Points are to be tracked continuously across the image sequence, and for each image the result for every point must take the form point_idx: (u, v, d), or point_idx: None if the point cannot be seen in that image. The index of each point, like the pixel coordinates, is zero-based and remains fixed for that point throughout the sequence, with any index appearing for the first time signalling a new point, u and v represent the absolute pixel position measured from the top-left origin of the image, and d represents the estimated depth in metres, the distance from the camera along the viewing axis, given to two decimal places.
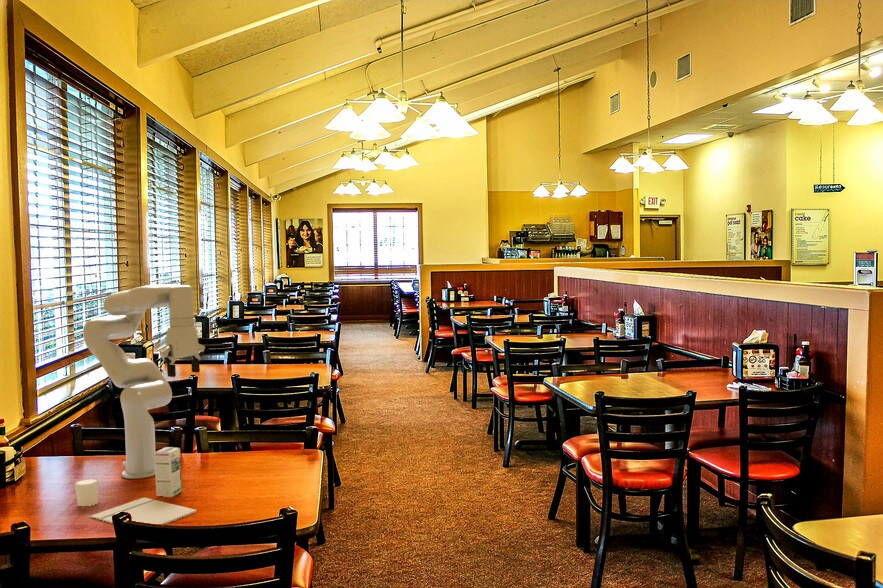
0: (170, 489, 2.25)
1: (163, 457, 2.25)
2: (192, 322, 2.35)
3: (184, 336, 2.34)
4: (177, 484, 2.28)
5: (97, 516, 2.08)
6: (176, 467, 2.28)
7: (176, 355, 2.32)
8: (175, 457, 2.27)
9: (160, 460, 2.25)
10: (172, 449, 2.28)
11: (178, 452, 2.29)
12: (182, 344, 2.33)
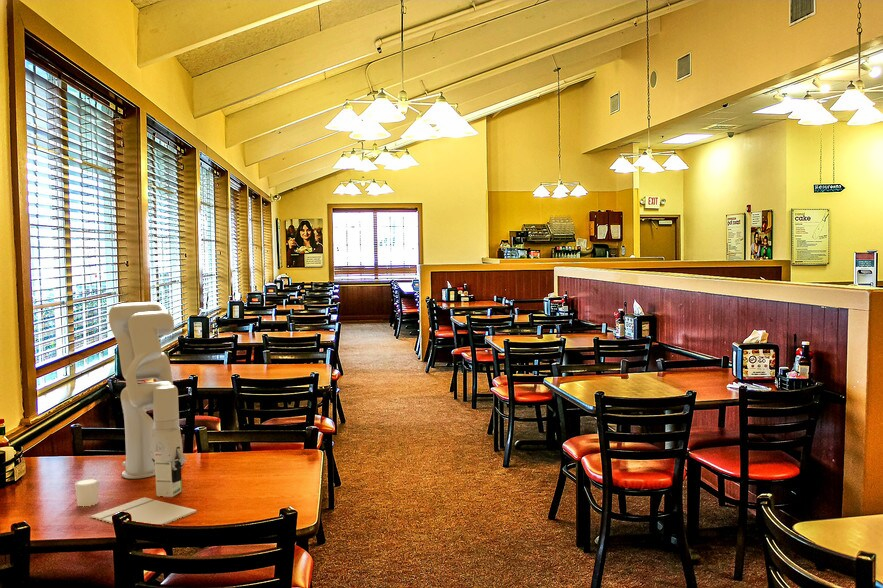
0: (170, 489, 2.25)
1: None
2: None
3: None
4: (177, 484, 2.28)
5: (97, 516, 2.08)
6: None
7: None
8: None
9: (160, 460, 2.25)
10: None
11: None
12: None
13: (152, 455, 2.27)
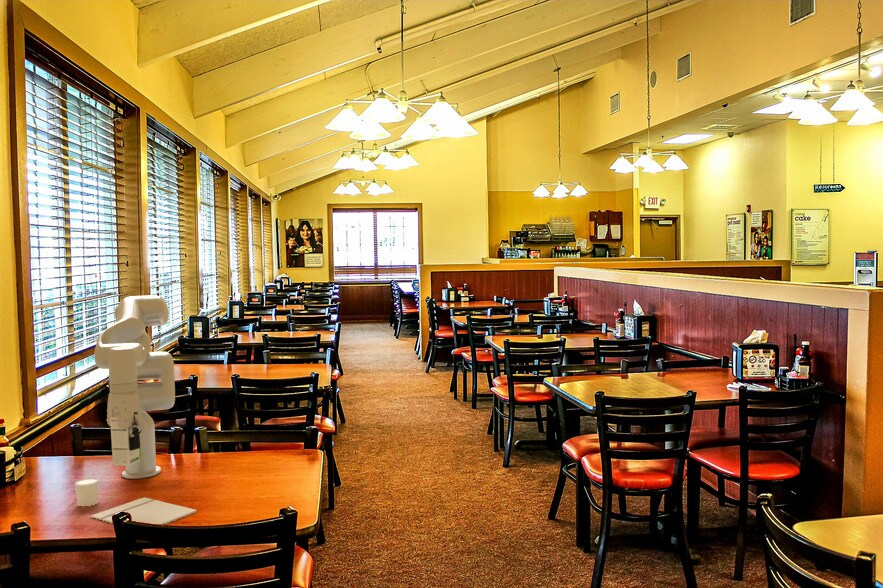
0: (127, 458, 2.10)
1: None
2: None
3: None
4: (135, 452, 2.12)
5: (97, 516, 2.08)
6: None
7: None
8: None
9: (117, 426, 2.10)
10: None
11: None
12: None
13: (108, 421, 2.12)
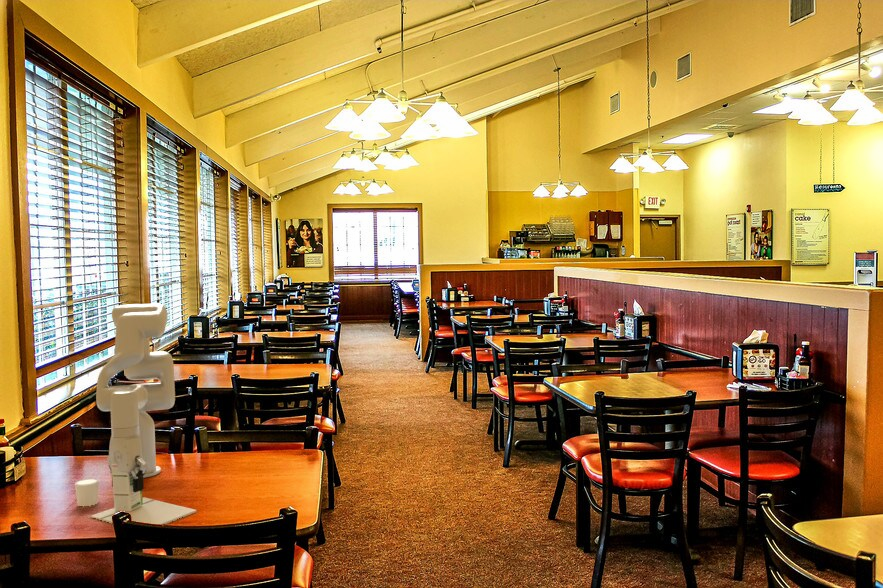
0: (128, 503, 2.11)
1: None
2: None
3: None
4: (137, 497, 2.13)
5: (97, 516, 2.08)
6: None
7: None
8: None
9: (118, 472, 2.11)
10: None
11: None
12: None
13: (110, 464, 2.12)
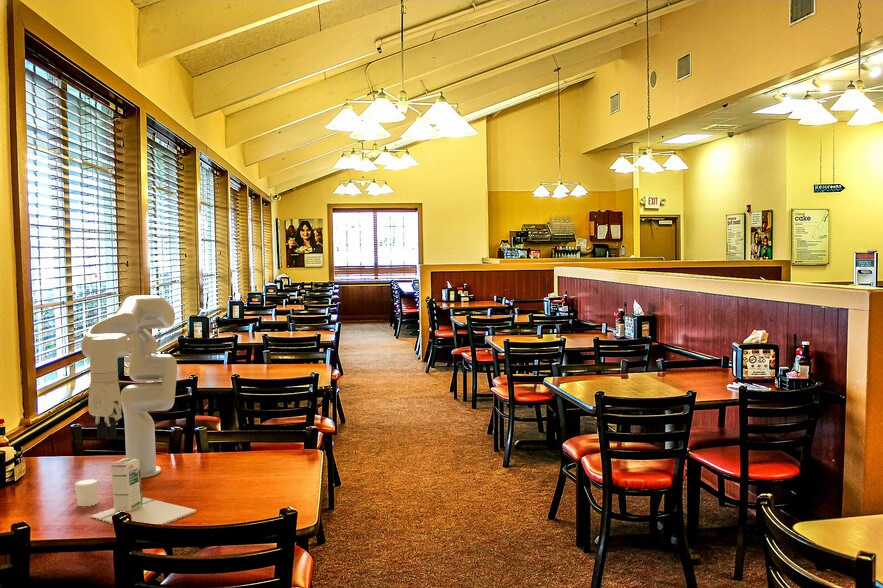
0: (128, 503, 2.11)
1: (120, 469, 2.11)
2: None
3: None
4: (137, 497, 2.13)
5: (97, 516, 2.08)
6: (135, 479, 2.13)
7: None
8: (133, 468, 2.13)
9: (117, 472, 2.11)
10: (130, 460, 2.13)
11: (137, 463, 2.15)
12: None
13: (89, 410, 2.16)
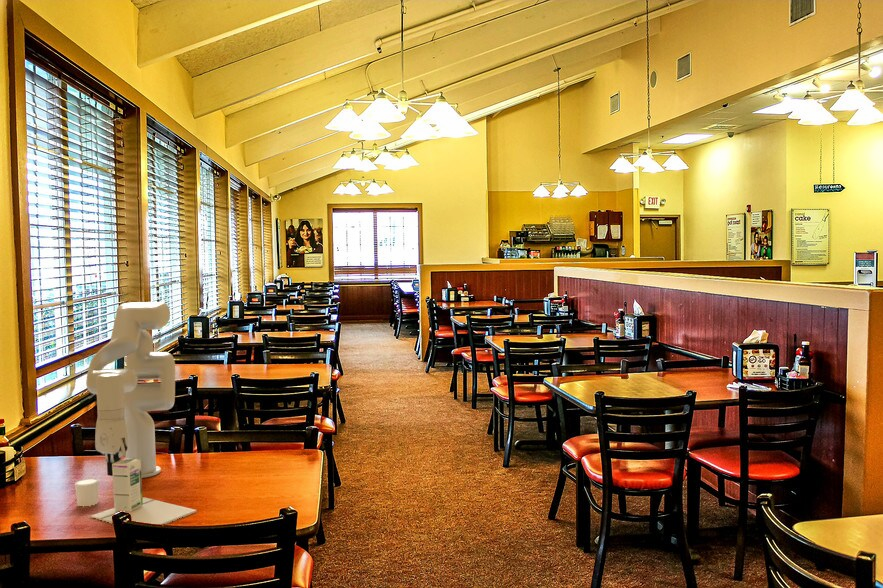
0: (128, 504, 2.11)
1: (121, 469, 2.10)
2: None
3: None
4: (137, 497, 2.13)
5: (97, 516, 2.08)
6: (136, 479, 2.13)
7: None
8: (134, 469, 2.12)
9: (118, 472, 2.11)
10: (132, 460, 2.13)
11: (138, 463, 2.14)
12: None
13: (96, 447, 2.15)
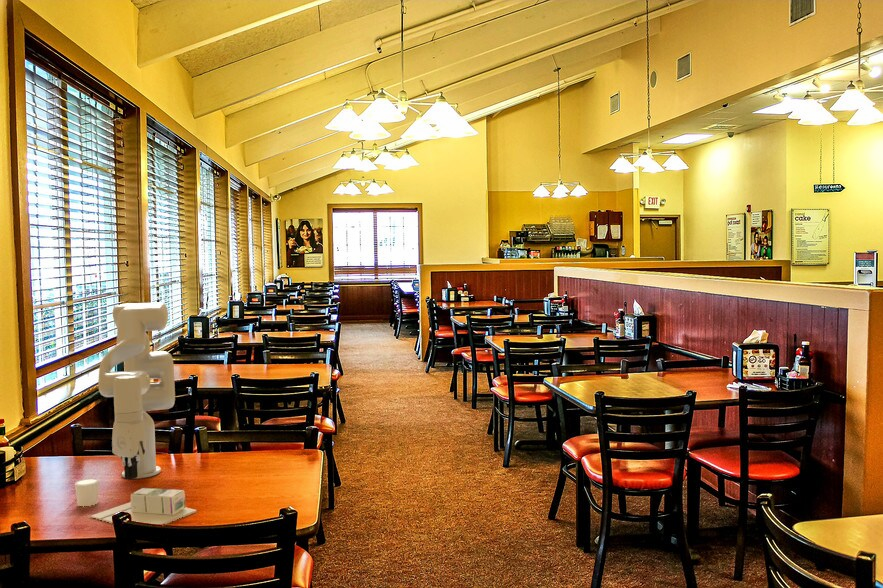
0: (138, 511, 2.10)
1: (168, 507, 2.07)
2: None
3: None
4: None
5: (97, 516, 2.08)
6: None
7: None
8: None
9: (165, 503, 2.07)
10: (180, 507, 2.10)
11: None
12: None
13: (113, 450, 2.11)
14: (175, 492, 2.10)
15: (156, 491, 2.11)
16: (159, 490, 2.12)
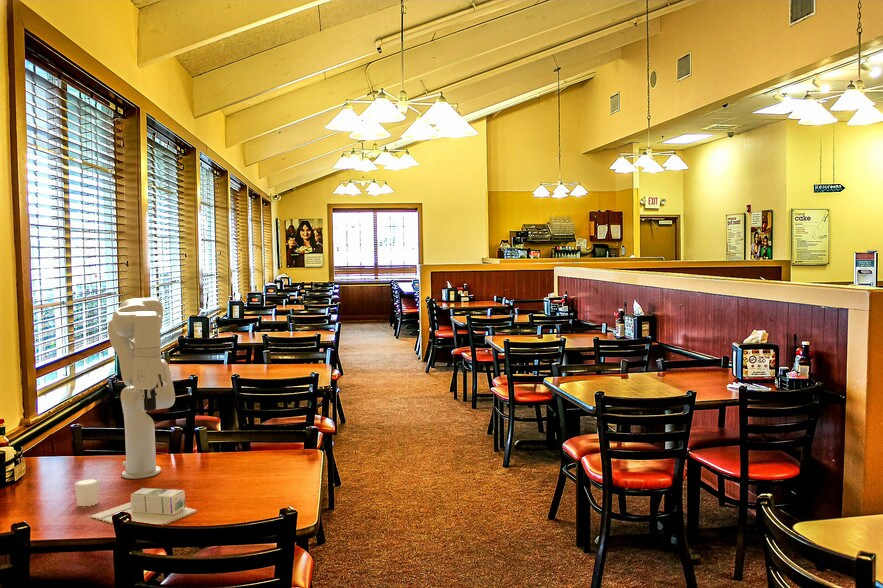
0: (138, 511, 2.10)
1: (168, 507, 2.07)
2: None
3: None
4: None
5: (97, 516, 2.08)
6: None
7: None
8: None
9: (165, 503, 2.07)
10: (180, 507, 2.10)
11: None
12: None
13: (133, 383, 2.27)
14: (175, 492, 2.10)
15: (156, 491, 2.11)
16: (159, 490, 2.12)
